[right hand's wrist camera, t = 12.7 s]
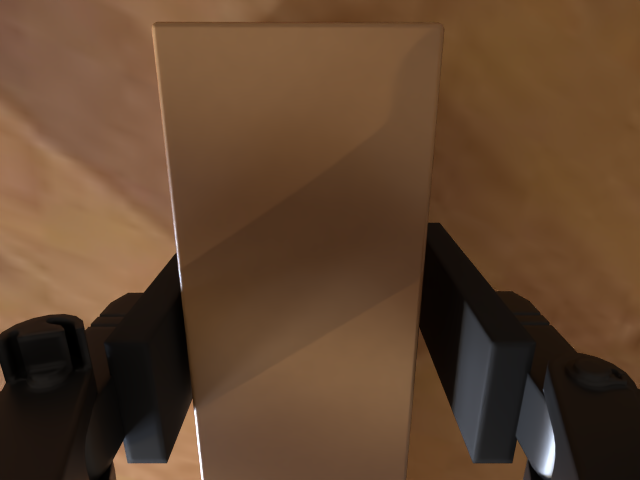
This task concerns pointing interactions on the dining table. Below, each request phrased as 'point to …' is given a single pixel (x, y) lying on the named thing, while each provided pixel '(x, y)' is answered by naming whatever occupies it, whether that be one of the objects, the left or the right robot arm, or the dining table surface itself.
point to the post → (300, 237)
